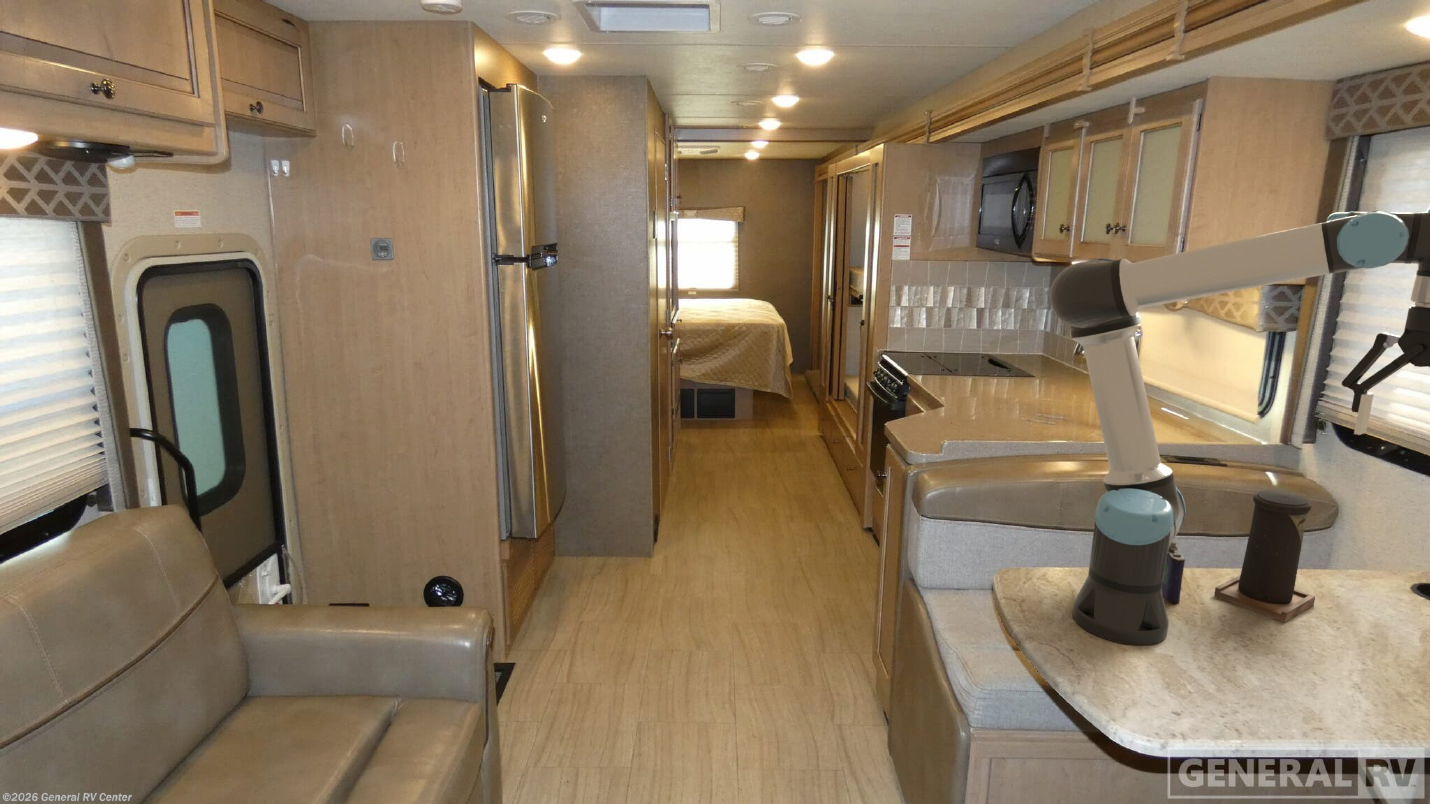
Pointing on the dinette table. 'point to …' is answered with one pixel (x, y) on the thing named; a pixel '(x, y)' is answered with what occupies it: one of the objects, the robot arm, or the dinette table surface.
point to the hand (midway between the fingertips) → (1412, 443)
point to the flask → (1173, 575)
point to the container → (1274, 546)
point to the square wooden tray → (1273, 610)
